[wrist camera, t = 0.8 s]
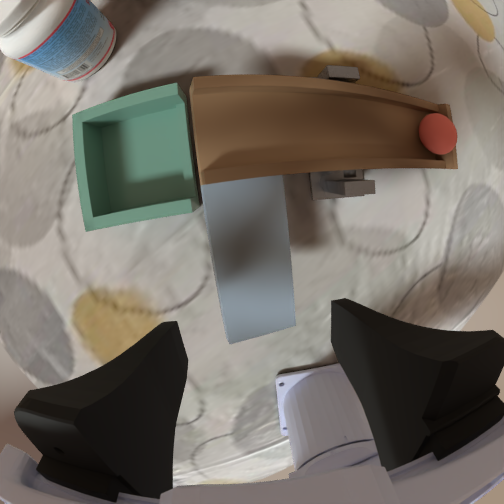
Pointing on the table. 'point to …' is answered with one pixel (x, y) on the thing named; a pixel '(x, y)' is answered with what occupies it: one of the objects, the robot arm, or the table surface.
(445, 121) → the ball
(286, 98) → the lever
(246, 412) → the table surface
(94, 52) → the pill bottle
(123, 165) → the dish
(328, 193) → the stand
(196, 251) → the table surface
